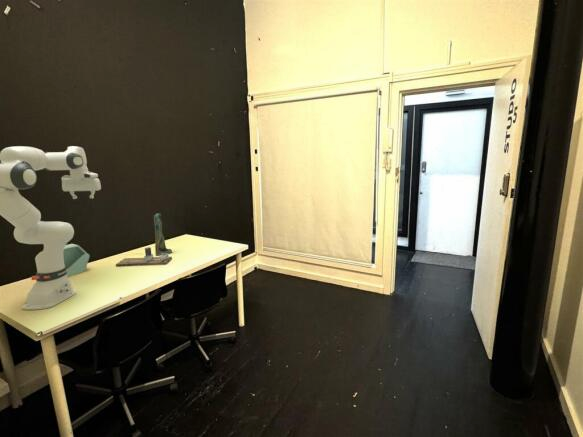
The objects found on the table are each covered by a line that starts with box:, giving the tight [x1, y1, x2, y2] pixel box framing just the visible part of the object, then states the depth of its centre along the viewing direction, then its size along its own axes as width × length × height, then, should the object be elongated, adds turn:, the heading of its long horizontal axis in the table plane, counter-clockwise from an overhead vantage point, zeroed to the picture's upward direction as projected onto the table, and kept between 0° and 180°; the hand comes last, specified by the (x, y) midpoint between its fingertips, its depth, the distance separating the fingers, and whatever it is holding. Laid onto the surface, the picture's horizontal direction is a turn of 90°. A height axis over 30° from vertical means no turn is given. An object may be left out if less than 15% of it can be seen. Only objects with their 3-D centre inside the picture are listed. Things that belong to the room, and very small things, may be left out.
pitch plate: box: [115, 253, 173, 268], centre depth 204 cm, size 12×32×6 cm, turn 94°
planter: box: [63, 243, 90, 277], centre depth 186 cm, size 17×8×21 cm
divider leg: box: [143, 247, 154, 262], centre depth 202 cm, size 8×4×8 cm, turn 4°
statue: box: [153, 213, 173, 257], centre depth 221 cm, size 7×11×30 cm, turn 124°
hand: (83, 198), depth 179 cm, fingers open, 8 cm apart
